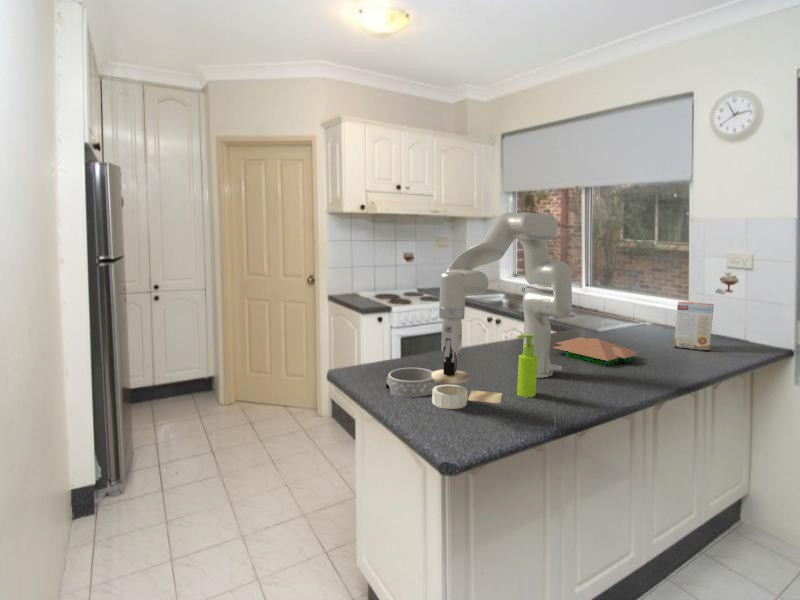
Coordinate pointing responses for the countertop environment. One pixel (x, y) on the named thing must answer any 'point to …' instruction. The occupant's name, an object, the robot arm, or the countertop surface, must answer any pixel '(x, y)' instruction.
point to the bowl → (449, 396)
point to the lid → (450, 376)
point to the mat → (485, 396)
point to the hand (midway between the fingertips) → (450, 372)
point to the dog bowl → (411, 382)
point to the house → (595, 349)
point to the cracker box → (693, 324)
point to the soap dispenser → (527, 369)
